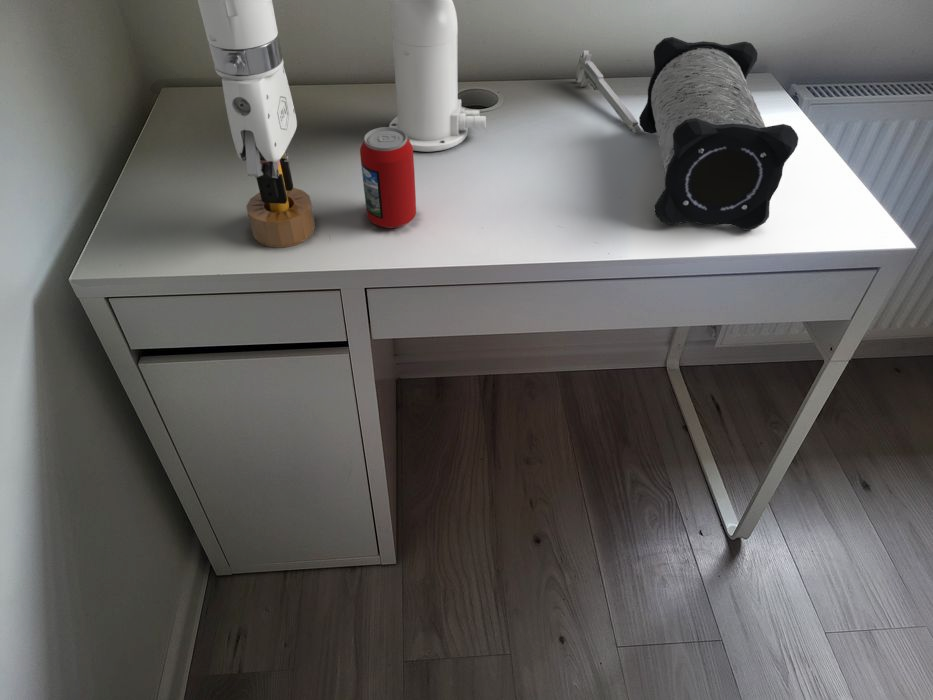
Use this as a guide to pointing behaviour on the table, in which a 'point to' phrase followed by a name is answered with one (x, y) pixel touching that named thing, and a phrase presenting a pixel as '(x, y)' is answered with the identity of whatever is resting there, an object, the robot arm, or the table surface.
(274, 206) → the pencil
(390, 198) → the beverage can
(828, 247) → the table surface
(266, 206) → the brown wooden ring
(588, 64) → the caliper
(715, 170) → the speaker
